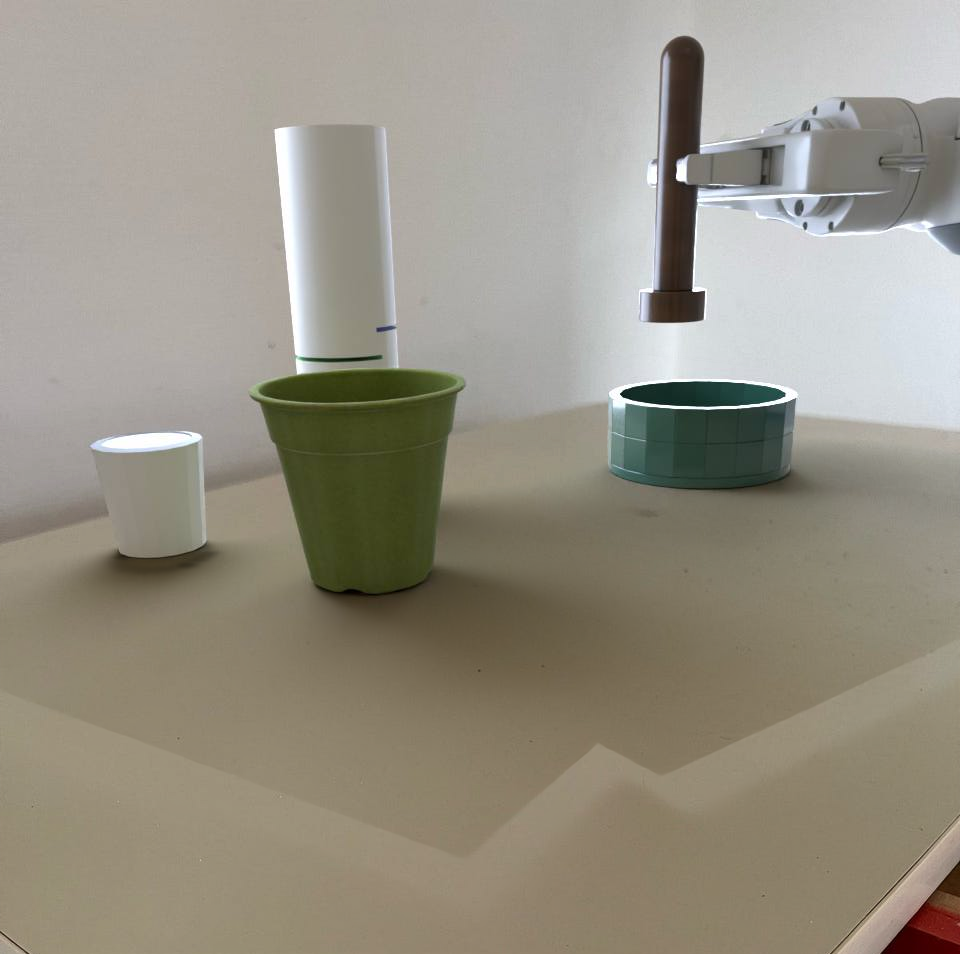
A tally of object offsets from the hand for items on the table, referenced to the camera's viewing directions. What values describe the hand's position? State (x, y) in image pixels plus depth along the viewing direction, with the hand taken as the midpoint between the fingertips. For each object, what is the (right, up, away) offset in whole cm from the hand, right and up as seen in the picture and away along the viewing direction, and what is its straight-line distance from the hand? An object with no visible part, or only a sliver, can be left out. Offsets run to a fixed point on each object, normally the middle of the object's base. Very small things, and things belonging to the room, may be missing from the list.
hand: (666, 171), depth 68 cm
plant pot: (-19, -28, -8) cm, 34 cm away
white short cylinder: (-33, -25, 0) cm, 42 cm away
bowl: (+5, -17, +16) cm, 24 cm away
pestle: (+1, -9, +4) cm, 10 cm away
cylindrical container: (-21, -21, +8) cm, 31 cm away
